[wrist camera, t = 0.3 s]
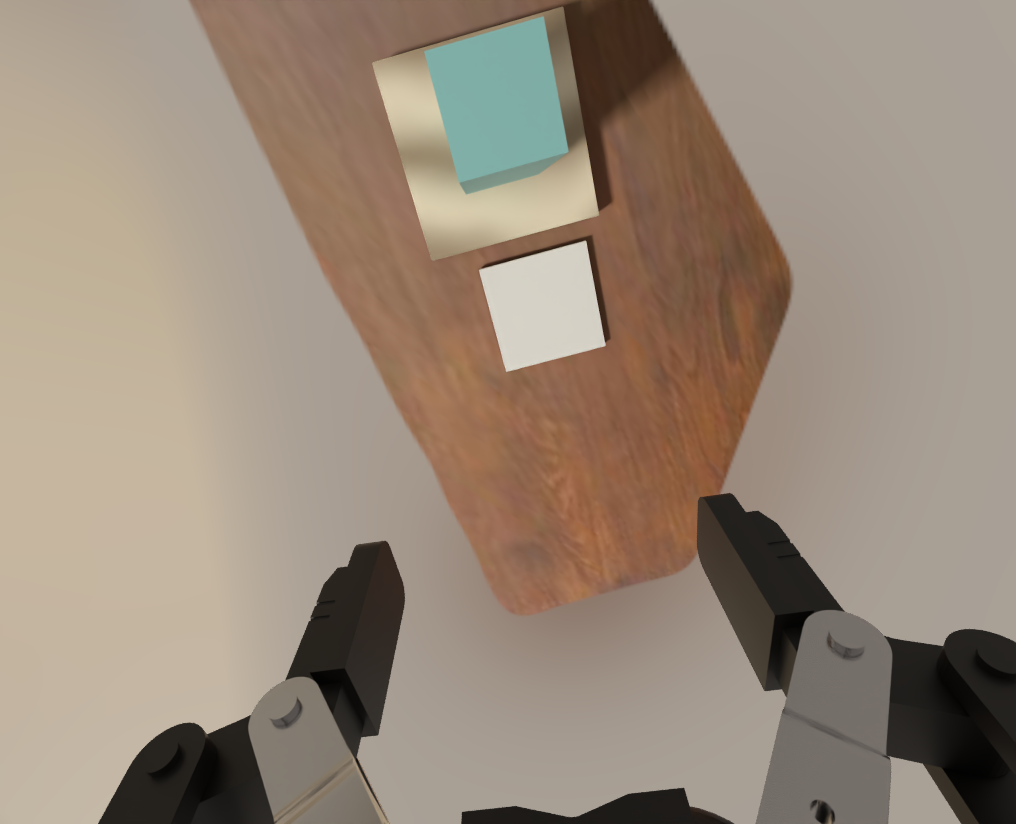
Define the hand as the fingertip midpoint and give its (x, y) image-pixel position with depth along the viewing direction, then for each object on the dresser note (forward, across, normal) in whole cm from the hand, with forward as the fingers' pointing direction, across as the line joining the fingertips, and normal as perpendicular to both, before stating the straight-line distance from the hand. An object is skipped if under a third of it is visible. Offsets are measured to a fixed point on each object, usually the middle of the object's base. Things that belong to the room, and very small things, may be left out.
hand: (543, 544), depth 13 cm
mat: (+27, -2, +2) cm, 27 cm away
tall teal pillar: (+27, 0, -10) cm, 28 cm away
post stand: (+28, 0, -10) cm, 30 cm away
